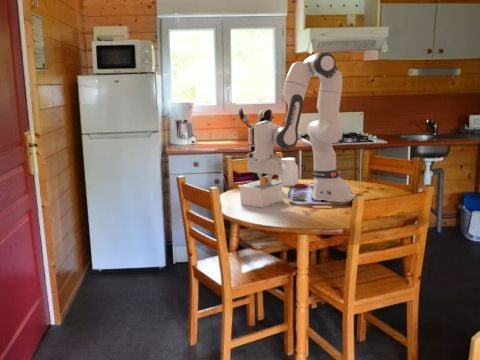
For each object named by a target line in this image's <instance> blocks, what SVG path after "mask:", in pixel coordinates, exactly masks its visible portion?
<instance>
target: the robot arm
mask: <svg viewBox="0 0 480 360" xmlns="http://www.w3.org/2000/svg"><path fill="white" fill-rule="evenodd" d="M312 77H318V79H319V88H318V95H317V103H316V108H317V111H318V119H315V120H313V121H311V122H309V124H308V125H307V127H306V134H307V135H308V137H309V139H310V144H311V148H312V153H313V154H312V155H313V170H312V176H313V187H312V193H311V196H312V197H311V198H313V200H314V201H321V200H324V201H325V200H326V201H325V202H333V203H334V202H335V203H345V202H346V203H347V202H350V201H353V200H354V199H353V197H354V196H355V195H356V194H353V193H352V189H351V186H350V184H349V183H347V181H345V180H344V179H343V178H341V176H340V174H341V172H342V171H341V170H338V169H337V154H336V151H335V150H334V147H333V144H334V143H337V142H339V141H340V140H341V139H342V137H343V133H344V132H343V127H342V126H341V120H340V118H341V117H340V105H341V99H342V91H343V74H342V72H341V71H339V70H338V68H337V62H336V59H335V56H334V55H333V54H332V53H330V52H325V51H321V52H315V53H314V54H310V55H308V56H307V57H305V58H304V59H303V60H301V61H295V62H293V63H292V65H291V66H290V68H289V70H288V73H286V77H285V81H284V84H283V88H282V97H283V99H284V100H285V102H286V104H287V113H286V117H285V121H284V125H283V126H281V125H278V124H276V123H273V122H272V121H270V120H263V121H259V122H257V123H255V125H254V135H253V136H254V137H253V139H254V143H255V144H254V145H255V151H254V152H251V151H250V152H248V153H247V155H246V156H247V163H246V164H247V165H246V167H247V171H248V172H249V173H252V172H255V173H257V175H258V177H259V178H260V177H262V175H261V174H262V173H264V174H268V176H269V178H268V179H267V183H271V180H273V179H272V178H273V176H274V175H275V176H279V175H280V174H282V173H283V167H282V161H281V159H282V158H281V157H280V155H275V154H274V146H277V147H279V148H281V149H283V150H292V149H294V148H295V146H296V145H298V141H299V132H298V131H299V124H300V119H301V115H302V110H303V106H304V100H305V95H306V92H307V89H308V86H309V82H310V79H311V78H312ZM352 199H353V200H352ZM324 201H323V202H324Z"/></svg>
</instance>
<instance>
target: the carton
mask: <svg viewBox="0 0 480 360" xmlns="http://www.w3.org/2000/svg"><path fill="white" fill-rule="evenodd" d="M271 181H275V182H282V184H283V181H279V180H276V179H275V180H274V179H271ZM282 184H279V185H276V186H272V187H269V188H266V189H263V190H261V188H257V187H250V186H243V185H244V184H238V188H239V192H240V193H239V194H240V195H239V196H240V205H241V204H242V206H248V207H253V208H259V209H264V208H266V207H270V206H272V205H275V204H279V203H281V202H283V197H284V195H283V186H282Z"/></svg>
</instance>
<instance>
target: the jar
mask: <svg viewBox="0 0 480 360" xmlns="http://www.w3.org/2000/svg"><path fill="white" fill-rule="evenodd" d="M281 161H282V167H283V173H282V174H280V175H278V181H283V184H282V187H293V186H295V185H298V184H300V183H299V182H300V180H299V165H298V164H297V163H296V158H295V157H283V158H281Z"/></svg>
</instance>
